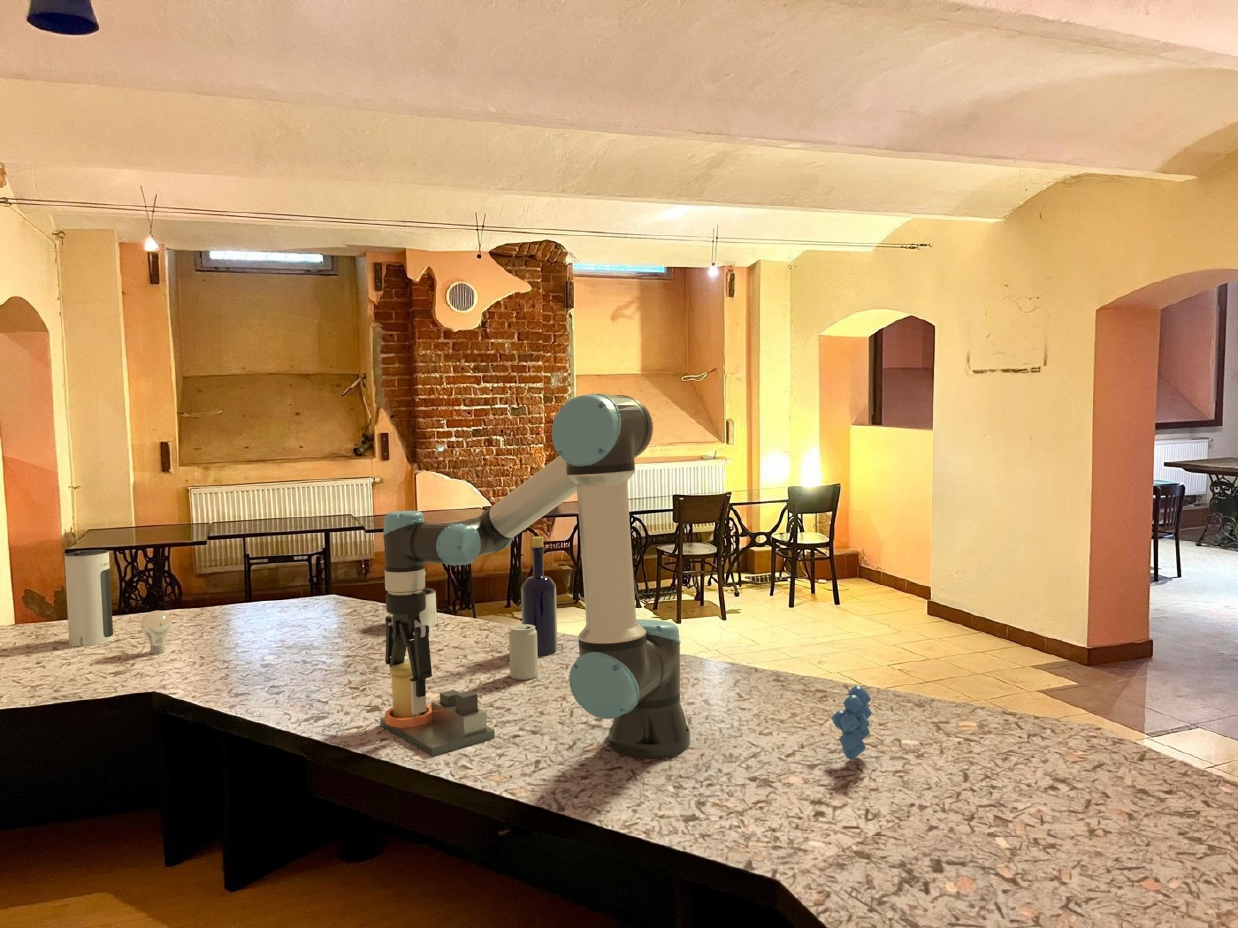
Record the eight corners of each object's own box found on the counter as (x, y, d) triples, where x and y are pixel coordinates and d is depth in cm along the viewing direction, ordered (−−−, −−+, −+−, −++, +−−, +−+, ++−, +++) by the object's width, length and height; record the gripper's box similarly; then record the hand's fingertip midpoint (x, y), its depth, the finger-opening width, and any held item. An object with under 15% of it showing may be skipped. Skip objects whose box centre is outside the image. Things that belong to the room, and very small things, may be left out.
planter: (384, 635, 238) (383, 596, 238) (403, 624, 251) (401, 587, 250) (426, 636, 236) (425, 596, 235) (443, 625, 248) (442, 587, 248)
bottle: (543, 662, 209) (541, 540, 208) (514, 657, 214) (511, 538, 213) (565, 653, 217) (563, 536, 216) (536, 648, 222) (534, 534, 220)
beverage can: (533, 682, 193) (532, 630, 192) (506, 681, 194) (505, 629, 194) (541, 674, 199) (540, 623, 199) (515, 673, 201) (514, 622, 200)
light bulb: (178, 655, 221) (176, 609, 220) (151, 661, 215) (149, 614, 215) (163, 651, 225) (161, 606, 224) (137, 658, 219) (134, 611, 218)
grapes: (841, 739, 156) (841, 675, 156) (878, 746, 153) (878, 680, 152) (821, 761, 146) (821, 693, 146) (860, 769, 143) (860, 699, 142)
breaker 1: (461, 716, 165) (461, 693, 165) (448, 719, 163) (447, 696, 163) (454, 712, 167) (453, 689, 167) (440, 715, 165) (439, 693, 165)
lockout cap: (429, 717, 167) (428, 667, 166) (400, 725, 163) (398, 674, 162) (414, 709, 172) (413, 660, 171) (385, 716, 168) (384, 666, 167)
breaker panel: (494, 737, 160) (494, 711, 160) (432, 756, 152) (431, 728, 151) (439, 709, 176) (438, 686, 176) (380, 725, 167) (379, 700, 167)
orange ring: (441, 719, 166) (441, 711, 166) (398, 730, 160) (398, 723, 160) (419, 707, 173) (419, 700, 173) (377, 718, 167) (377, 711, 167)
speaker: (98, 651, 226) (93, 553, 225) (59, 651, 227) (54, 554, 225) (121, 640, 237) (117, 547, 236) (84, 641, 237) (80, 548, 236)
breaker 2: (478, 717, 160) (477, 693, 160) (464, 721, 158) (463, 697, 158) (469, 713, 163) (469, 690, 162) (455, 717, 161) (455, 693, 160)
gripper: (449, 595, 160) (452, 715, 161) (399, 581, 175) (402, 690, 176) (412, 601, 155) (416, 725, 156) (364, 586, 170) (368, 699, 172)
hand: (409, 706), depth 166 cm, fingers open, 7 cm apart
